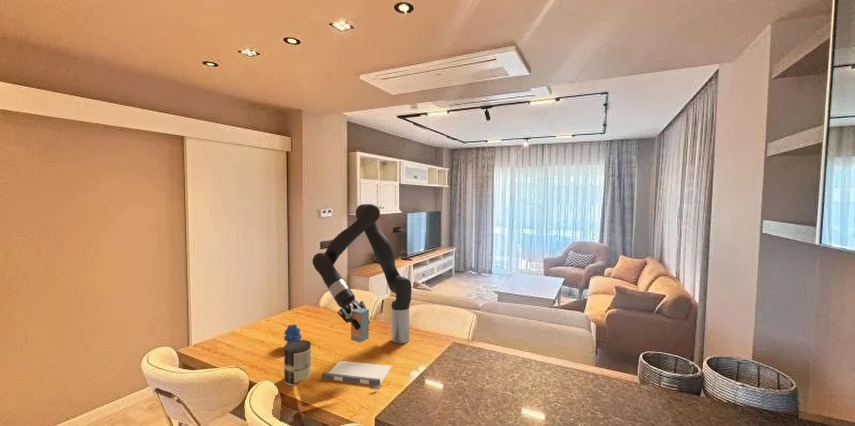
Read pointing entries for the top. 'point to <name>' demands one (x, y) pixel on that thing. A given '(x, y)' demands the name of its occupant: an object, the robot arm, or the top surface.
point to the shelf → (358, 373)
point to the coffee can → (297, 361)
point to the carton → (363, 321)
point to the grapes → (292, 333)
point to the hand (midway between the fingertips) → (363, 326)
